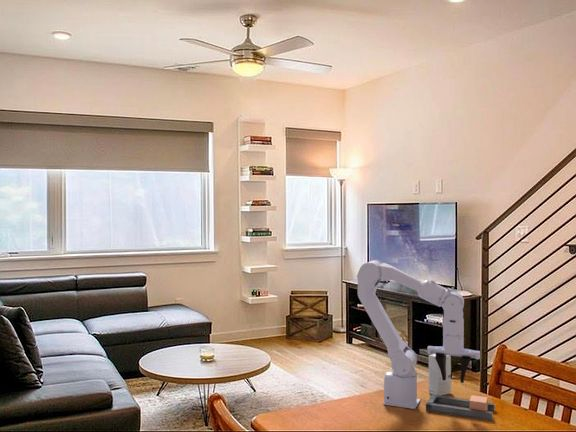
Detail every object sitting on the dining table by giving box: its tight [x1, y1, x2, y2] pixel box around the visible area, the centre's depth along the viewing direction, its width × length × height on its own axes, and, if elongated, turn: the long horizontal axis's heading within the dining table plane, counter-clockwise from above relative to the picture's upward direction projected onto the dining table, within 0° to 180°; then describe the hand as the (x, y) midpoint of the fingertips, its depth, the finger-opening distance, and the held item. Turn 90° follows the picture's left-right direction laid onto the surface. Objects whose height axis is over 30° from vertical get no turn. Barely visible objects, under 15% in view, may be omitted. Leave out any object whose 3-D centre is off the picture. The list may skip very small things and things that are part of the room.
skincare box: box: [428, 354, 452, 396], centre depth 173 cm, size 6×4×12 cm
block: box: [469, 394, 489, 411], centre depth 156 cm, size 4×5×4 cm
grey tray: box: [425, 394, 496, 422], centre depth 158 cm, size 18×9×2 cm, turn 65°
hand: (453, 380), depth 158 cm, fingers open, 4 cm apart
